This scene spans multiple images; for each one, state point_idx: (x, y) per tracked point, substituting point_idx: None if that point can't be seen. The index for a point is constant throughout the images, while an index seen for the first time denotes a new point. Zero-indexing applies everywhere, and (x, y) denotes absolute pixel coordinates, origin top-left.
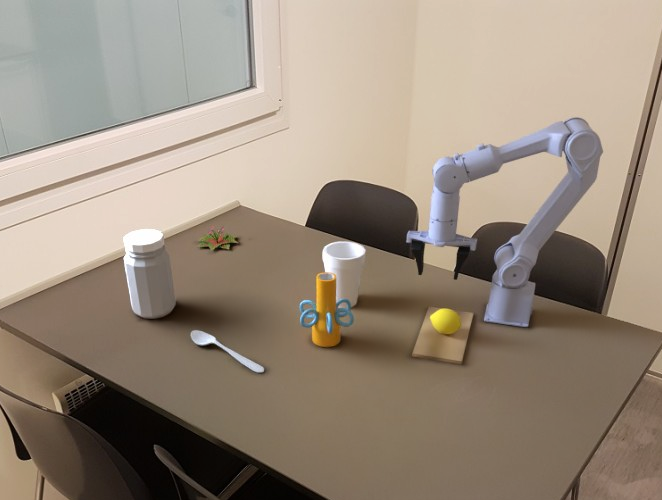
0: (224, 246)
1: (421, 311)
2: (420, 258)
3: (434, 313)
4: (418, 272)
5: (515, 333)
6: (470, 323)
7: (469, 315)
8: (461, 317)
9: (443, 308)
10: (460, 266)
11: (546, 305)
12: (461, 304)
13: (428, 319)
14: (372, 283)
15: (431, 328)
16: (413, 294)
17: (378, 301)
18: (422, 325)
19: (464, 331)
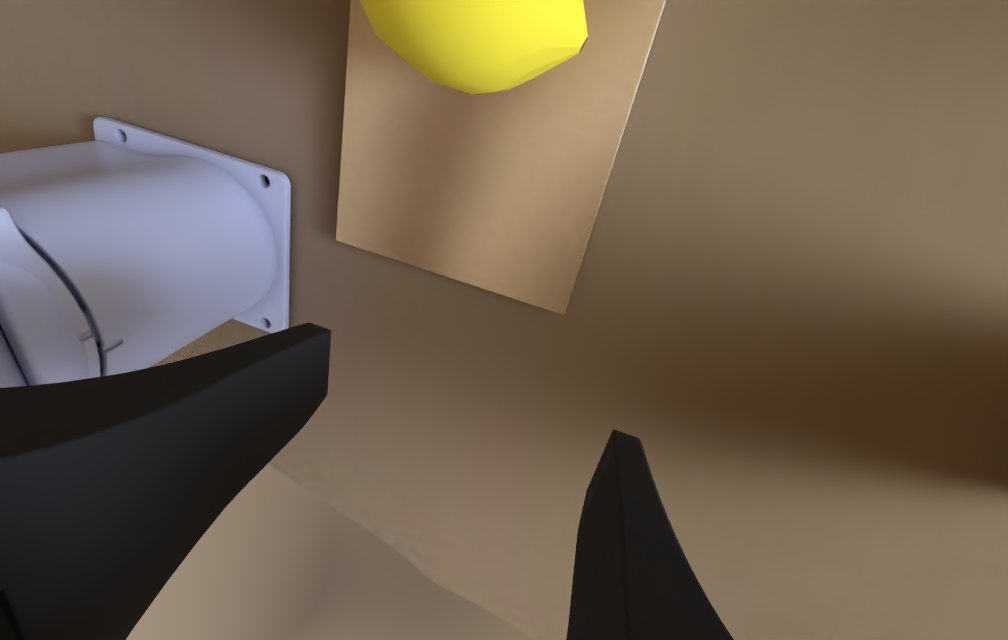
0: None
1: (609, 291)
2: (634, 586)
3: (549, 5)
4: (643, 454)
5: (143, 59)
6: (345, 123)
7: (353, 214)
8: (393, 193)
9: (463, 33)
10: (157, 368)
11: None
12: (400, 345)
13: (585, 163)
14: (831, 576)
15: None
16: None
17: (855, 412)
18: (637, 79)
19: None
